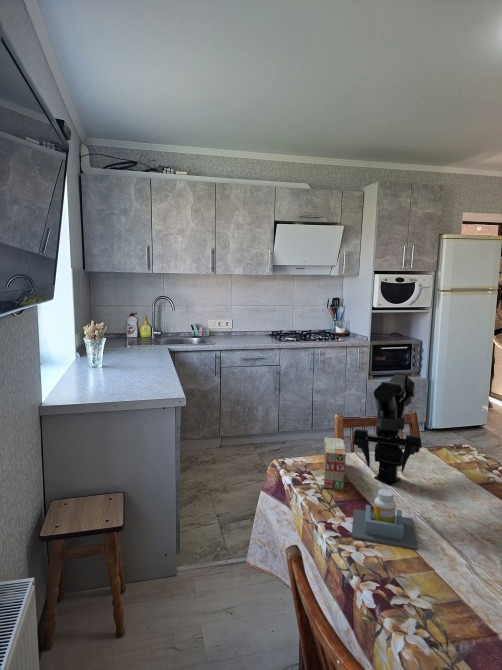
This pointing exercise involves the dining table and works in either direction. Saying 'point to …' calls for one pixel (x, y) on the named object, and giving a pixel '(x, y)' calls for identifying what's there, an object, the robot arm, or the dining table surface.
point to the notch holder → (383, 529)
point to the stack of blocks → (334, 463)
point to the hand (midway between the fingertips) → (385, 468)
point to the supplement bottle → (384, 506)
